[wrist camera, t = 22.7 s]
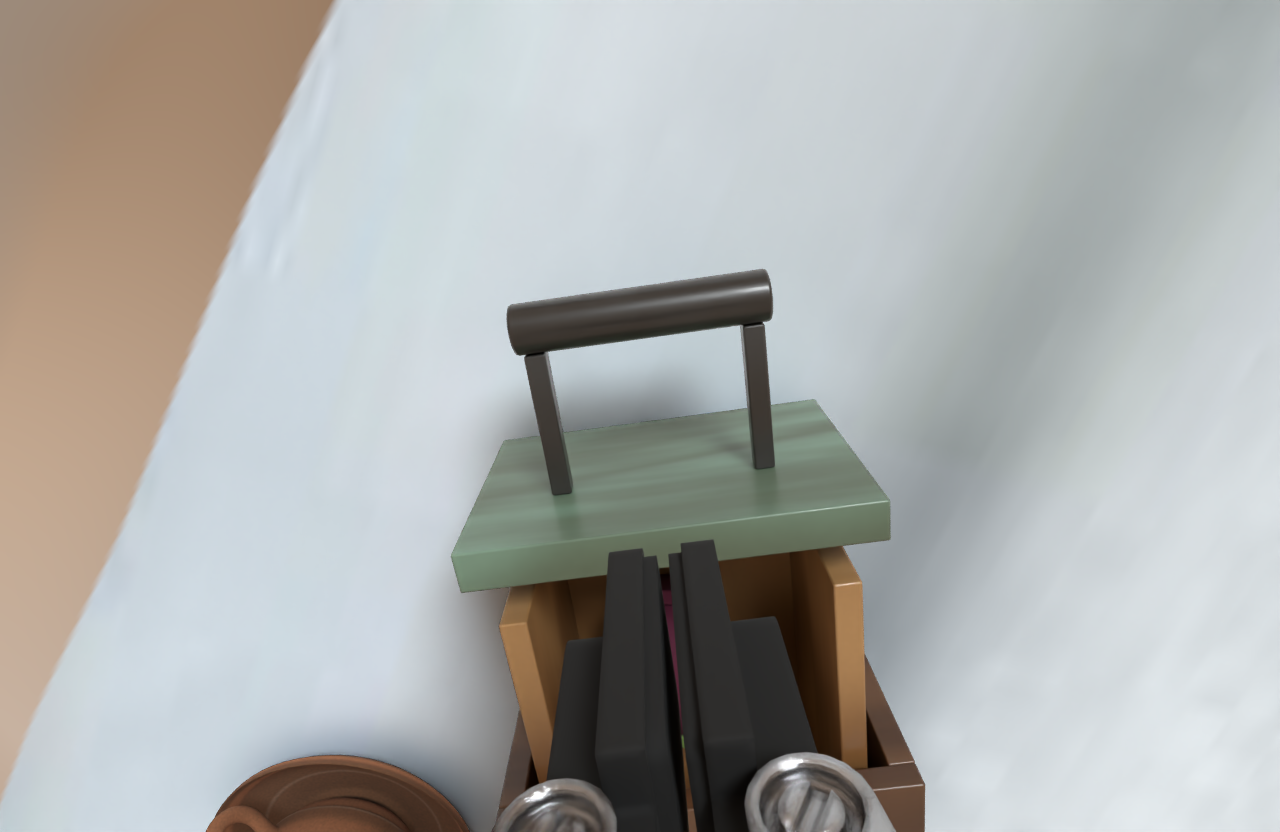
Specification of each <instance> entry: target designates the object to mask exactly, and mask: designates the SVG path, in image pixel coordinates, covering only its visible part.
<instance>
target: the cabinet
mask: <svg viewBox="0 0 1280 832" xmlns="http://www.w3.org/2000/svg"><path fill="white" fill-rule="evenodd" d="M864 659H865V694H866V728H867V763H868V768H865V769H856V770H855V771H857V772H858V773H859V774H861V775H862V777H863V778H864V779H865V781H866V782H867V783H868V784H869V786H870V787H871V788H872V790H873V791H874V793H875V795H876V796H877V798H878V800H879V802H880V804H881V805H882V807H883V809H884V811H885V813H886V814H887V816H888V818H889V820H890V821H891V823H892V825H893V827H894V829H895V830H896V832H925V783H924V781H923V779H922V777H921V775H920V773H919V770H918V768H917V766H916V764H915V761H914V759H913V757H912V755H911V752H910V750H909V748H908V746H907V744H906V742H905V740H904V737H903V735H902V733H901V731H900V729H899V727H898V724H897V722H896V720H895V718H894V716H893V714H892V712H891V709H890V707H889V705H888V703H887V701H886V699H885V696H884V694H883V692H882V690H881V688H880V686H879V684H878V681H877V679H876V677H875V675H874V673H873V671H872V668H871V666H870V664H869V662H868V660H867V658H866V656H865V653H864ZM538 784H539V781H538V777H537V773H536V769H535V765H534V761H533V757H532V753H531V750H530V746H529V742H528V738H527V734H526V730H525V726H524V722H523V718H522V715H521V711H520V709H519V713H518V718H517V723H516V728H515V733H514V737H513V742H512V747H511V752H510V756H509V761H508V766H507V771H506V776H505V780H504V785H503V790H502V795H501V799H500V804H499V810H498V814H497V819H496V822H497V820H498V819H499V817H500V815H501V813H502V812H503V811H504V810H505V809H506V808H507V807H508V806H509V804H510V803H511V802H512V801H513V800H514V799H515V798H516V797H518V796H519V795H521V794H522V793H524V792H525V791H527V790H528V789H529V788H531V787H533V786H536V785H538ZM686 798H687V810H688V823H689V832H697V828H696V821H695V815H694V808H693V802H692V795H691V789H690V788H686Z"/></svg>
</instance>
